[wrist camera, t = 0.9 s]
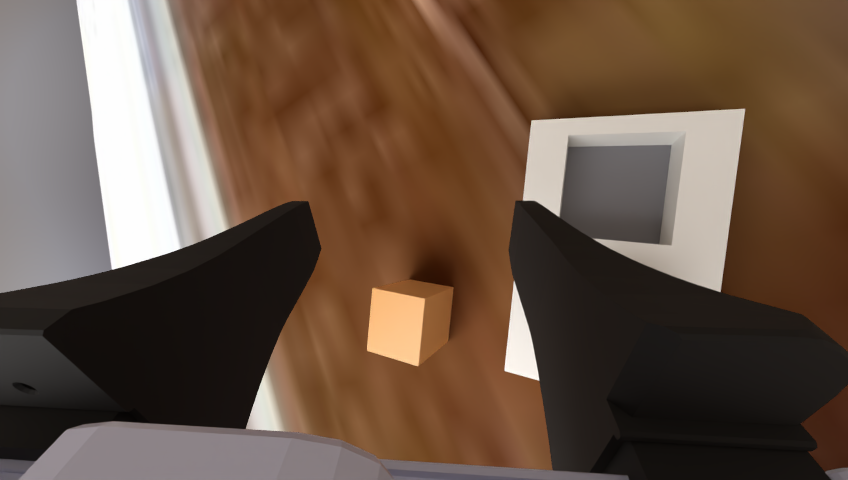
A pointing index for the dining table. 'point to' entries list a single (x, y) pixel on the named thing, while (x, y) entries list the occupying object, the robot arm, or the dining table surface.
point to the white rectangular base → (636, 194)
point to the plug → (409, 320)
